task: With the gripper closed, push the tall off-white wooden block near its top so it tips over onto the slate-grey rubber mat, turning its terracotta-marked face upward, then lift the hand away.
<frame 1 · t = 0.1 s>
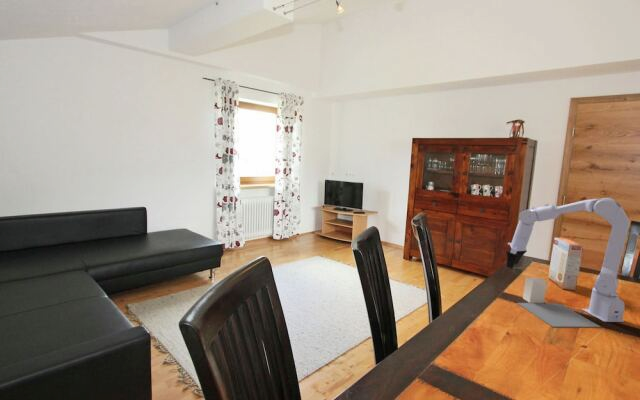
hand: (511, 265, 147), 11 cm above the table, tool pointing down, fingers open, 7 cm apart
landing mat: (556, 314, 125), on the table
marked block: (533, 300, 136), on the table
cracker box: (561, 284, 157), on the table
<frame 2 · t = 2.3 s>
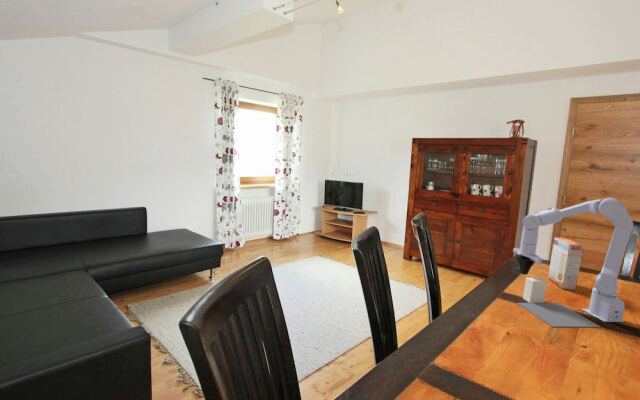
hand: (524, 274, 142), 9 cm above the table, tool pointing down, fingers closed
nothing on the table moved.
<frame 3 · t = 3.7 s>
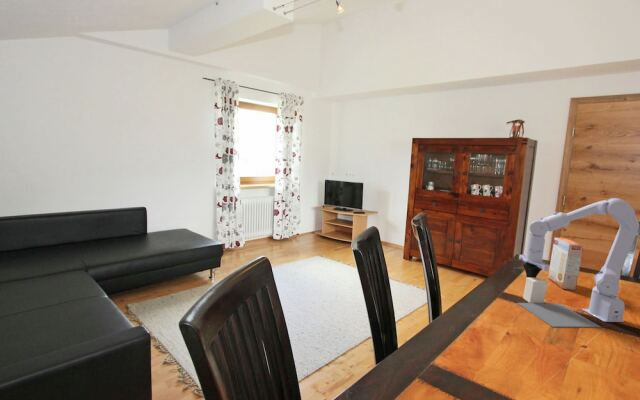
hand: (530, 281, 138), 7 cm above the table, tool pointing down, fingers closed
nothing on the table moved.
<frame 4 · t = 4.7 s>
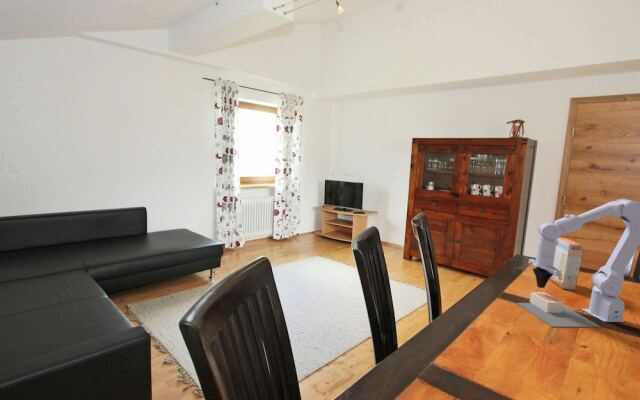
hand: (540, 287, 133), 7 cm above the table, tool pointing down, fingers closed
marked block: (537, 297, 134), point 2 cm above the table, tilted 90°, touching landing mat
everything else where it was.
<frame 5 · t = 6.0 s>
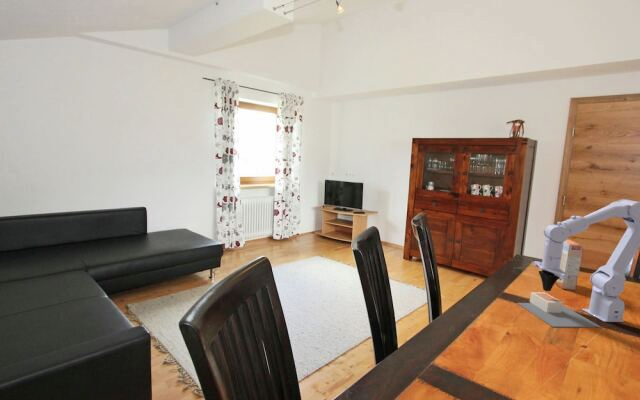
hand: (546, 290, 130), 7 cm above the table, tool pointing down, fingers closed
nothing on the table moved.
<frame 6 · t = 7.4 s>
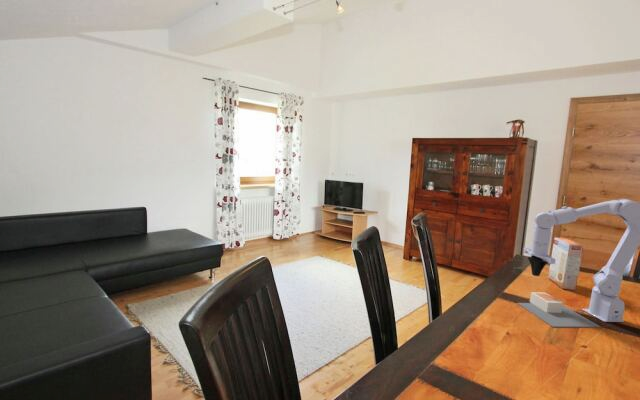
hand: (535, 275, 135), 10 cm above the table, tool pointing down, fingers closed
nothing on the table moved.
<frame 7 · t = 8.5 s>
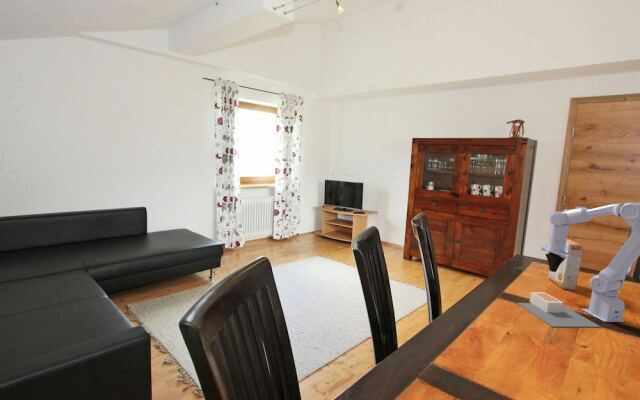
hand: (552, 271, 142), 10 cm above the table, tool pointing down, fingers closed
nothing on the table moved.
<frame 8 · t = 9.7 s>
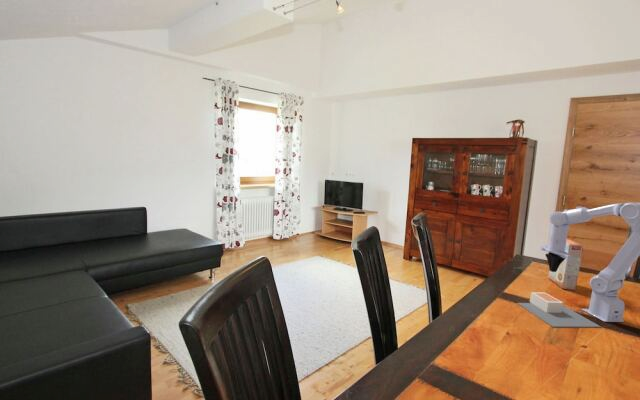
hand: (552, 271, 142), 10 cm above the table, tool pointing down, fingers closed
nothing on the table moved.
at the end: marked block tilted 90°; marked block touching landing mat; the gripper is holding nothing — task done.
